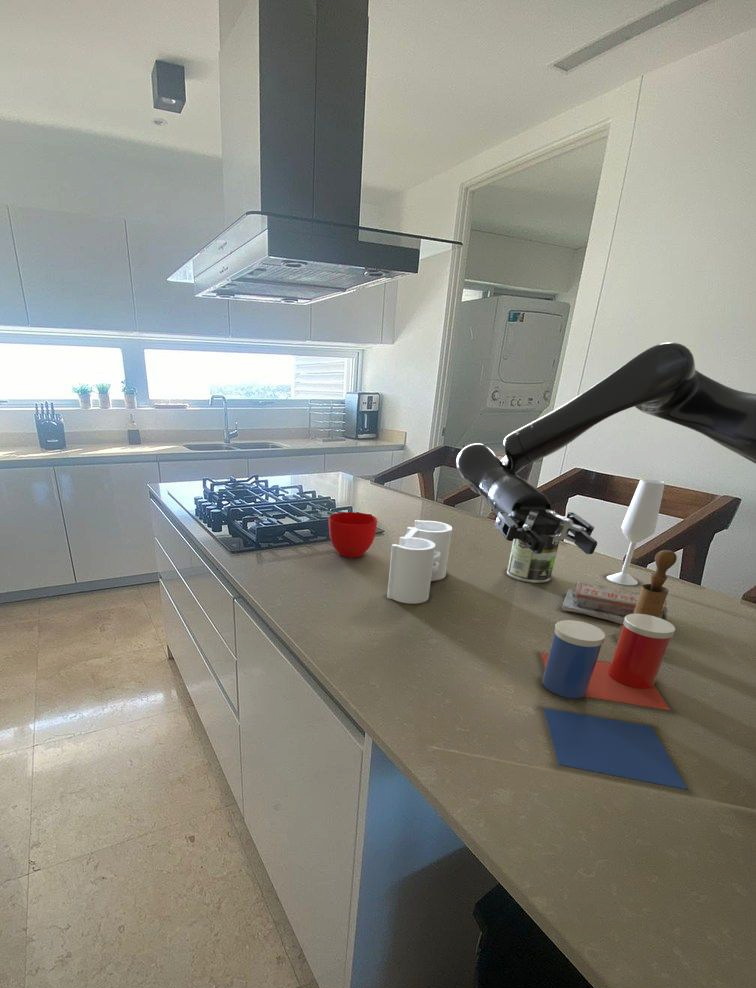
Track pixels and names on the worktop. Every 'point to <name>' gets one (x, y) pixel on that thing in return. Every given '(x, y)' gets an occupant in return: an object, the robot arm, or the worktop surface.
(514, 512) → the robot arm
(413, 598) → the bracket
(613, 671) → the red canister
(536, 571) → the coffee can
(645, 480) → the champagne flute
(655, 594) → the mortar and pestle
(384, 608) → the worktop surface
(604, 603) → the packaged product
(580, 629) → the blue canister
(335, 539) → the ceramic cup
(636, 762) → the blue mat
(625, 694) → the terracotta mat
